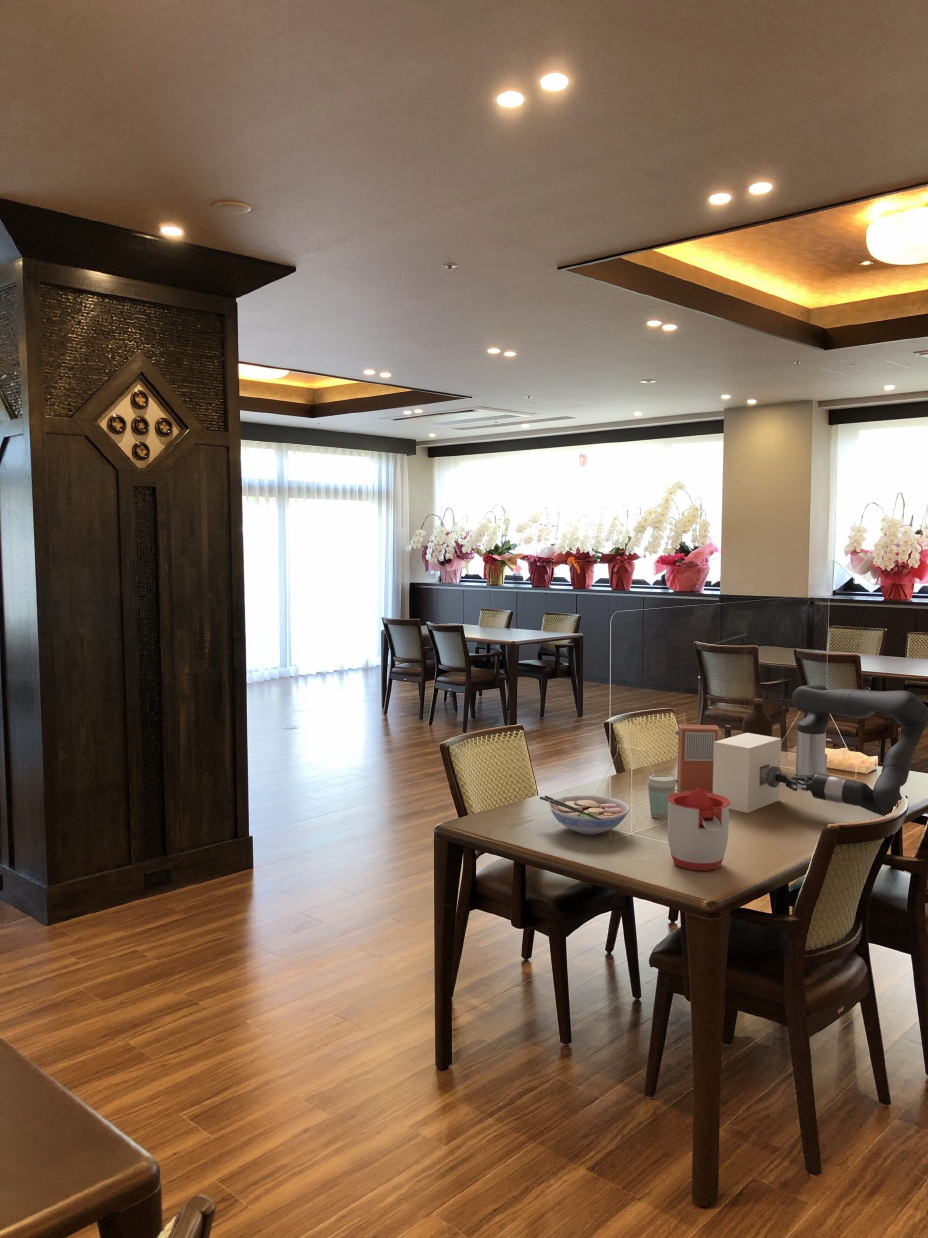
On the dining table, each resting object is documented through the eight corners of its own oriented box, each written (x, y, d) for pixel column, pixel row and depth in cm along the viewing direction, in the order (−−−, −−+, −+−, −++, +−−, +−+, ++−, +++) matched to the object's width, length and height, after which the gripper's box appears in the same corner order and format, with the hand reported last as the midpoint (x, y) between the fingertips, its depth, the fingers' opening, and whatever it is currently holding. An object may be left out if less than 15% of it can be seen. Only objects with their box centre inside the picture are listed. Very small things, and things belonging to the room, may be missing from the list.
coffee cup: (678, 815, 283) (679, 776, 282) (670, 823, 275) (671, 782, 274) (651, 811, 287) (651, 772, 286) (642, 818, 279) (643, 779, 278)
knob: (754, 780, 298) (755, 760, 297) (781, 785, 291) (781, 765, 291) (744, 783, 293) (744, 763, 293) (771, 789, 287) (771, 768, 286)
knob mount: (744, 792, 308) (746, 732, 306) (779, 800, 299) (781, 738, 297) (712, 804, 294) (714, 741, 292) (747, 813, 285) (749, 748, 284)
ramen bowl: (649, 836, 263) (649, 808, 262) (585, 850, 251) (585, 820, 250) (591, 814, 284) (591, 787, 283) (530, 826, 272) (530, 798, 271)
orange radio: (672, 786, 315) (718, 788, 314) (675, 792, 308) (722, 793, 307) (674, 723, 313) (720, 724, 312) (676, 728, 306) (723, 729, 305)
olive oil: (763, 772, 335) (766, 702, 333) (735, 767, 342) (737, 699, 340) (776, 766, 343) (778, 699, 341) (748, 762, 350) (751, 695, 348)
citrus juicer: (682, 879, 230) (684, 799, 228) (656, 855, 247) (658, 780, 245) (742, 875, 233) (744, 796, 231) (712, 852, 250) (714, 778, 248)
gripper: (841, 772, 281) (787, 762, 293) (821, 780, 271) (766, 769, 284) (840, 796, 281) (786, 785, 294) (820, 805, 272) (765, 793, 284)
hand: (776, 777), depth 289 cm, fingers closed
